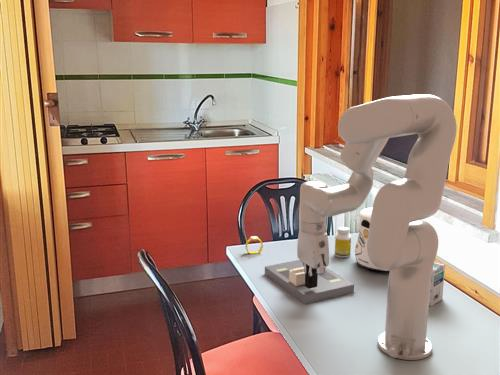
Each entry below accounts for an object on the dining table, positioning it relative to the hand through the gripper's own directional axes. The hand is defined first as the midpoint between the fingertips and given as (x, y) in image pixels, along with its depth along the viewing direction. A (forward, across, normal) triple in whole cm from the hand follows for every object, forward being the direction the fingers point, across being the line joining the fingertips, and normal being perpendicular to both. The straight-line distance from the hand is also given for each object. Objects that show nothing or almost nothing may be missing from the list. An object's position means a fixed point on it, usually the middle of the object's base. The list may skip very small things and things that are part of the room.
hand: (311, 286), depth 160 cm
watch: (+4, +40, -2) cm, 40 cm away
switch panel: (+4, +10, -5) cm, 11 cm away
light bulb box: (+4, -14, -28) cm, 32 cm away
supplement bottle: (+4, +24, -28) cm, 37 cm away
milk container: (+4, +11, -34) cm, 36 cm away
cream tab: (+1, +6, 0) cm, 6 cm away
